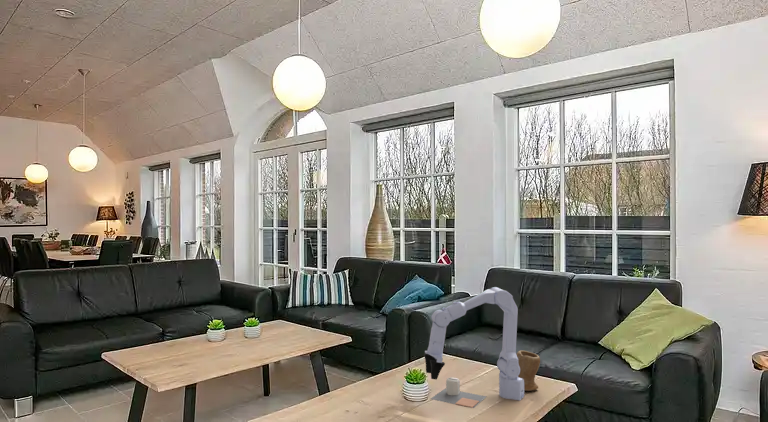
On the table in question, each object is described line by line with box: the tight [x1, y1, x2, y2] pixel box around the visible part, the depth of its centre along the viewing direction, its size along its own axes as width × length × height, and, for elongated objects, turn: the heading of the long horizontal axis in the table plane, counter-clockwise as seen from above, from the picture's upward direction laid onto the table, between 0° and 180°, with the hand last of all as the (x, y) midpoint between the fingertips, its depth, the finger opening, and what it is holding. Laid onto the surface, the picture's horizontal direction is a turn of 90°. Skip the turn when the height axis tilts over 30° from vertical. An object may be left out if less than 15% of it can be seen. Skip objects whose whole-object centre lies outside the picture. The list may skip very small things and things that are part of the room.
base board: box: [430, 387, 487, 409], centre depth 201 cm, size 18×14×1 cm
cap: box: [445, 376, 461, 395], centre depth 206 cm, size 5×5×6 cm
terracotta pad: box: [454, 398, 480, 409], centre depth 195 cm, size 7×7×1 cm
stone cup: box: [516, 349, 541, 392], centre depth 217 cm, size 15×12×15 cm
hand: (431, 375), depth 198 cm, fingers open, 7 cm apart
